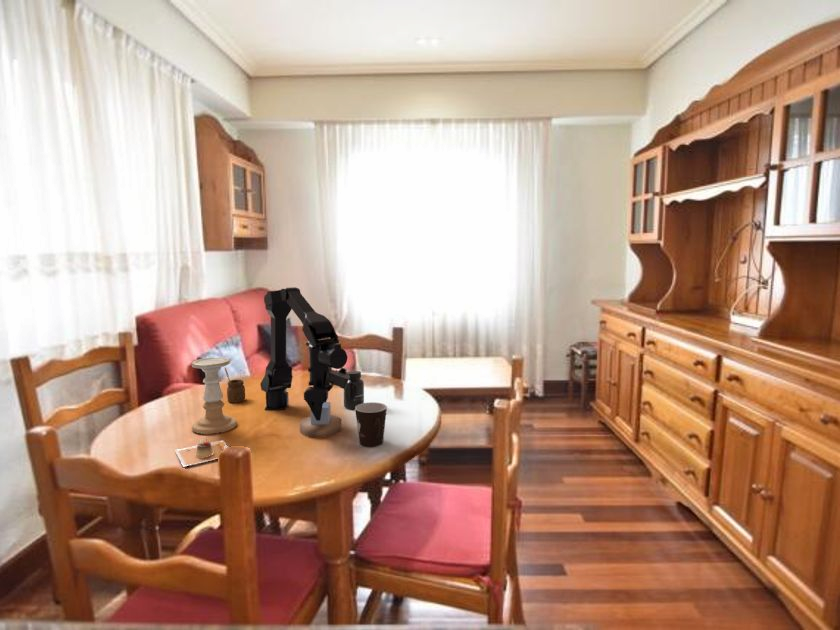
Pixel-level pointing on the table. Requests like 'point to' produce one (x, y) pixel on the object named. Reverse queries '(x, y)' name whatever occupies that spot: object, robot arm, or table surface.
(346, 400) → the supplement bottle
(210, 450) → the dessert
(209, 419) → the candle holder
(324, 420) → the blue cube
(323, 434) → the brown disc
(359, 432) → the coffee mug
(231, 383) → the utensil holder
